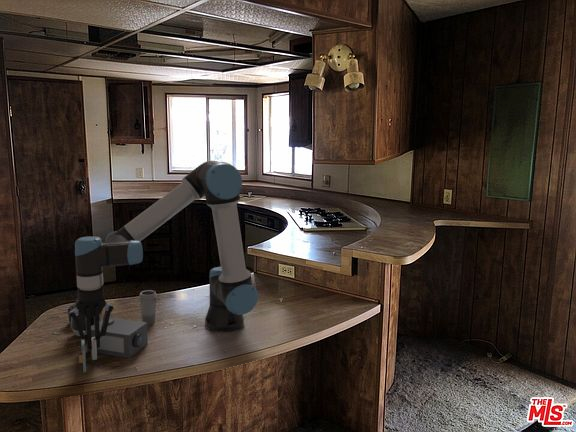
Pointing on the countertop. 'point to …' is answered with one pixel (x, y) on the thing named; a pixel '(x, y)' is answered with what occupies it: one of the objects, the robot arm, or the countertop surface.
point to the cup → (148, 306)
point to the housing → (122, 337)
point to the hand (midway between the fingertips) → (94, 357)
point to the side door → (83, 355)
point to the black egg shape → (81, 321)
